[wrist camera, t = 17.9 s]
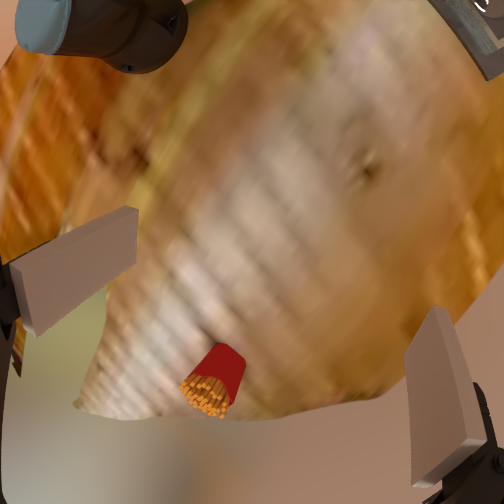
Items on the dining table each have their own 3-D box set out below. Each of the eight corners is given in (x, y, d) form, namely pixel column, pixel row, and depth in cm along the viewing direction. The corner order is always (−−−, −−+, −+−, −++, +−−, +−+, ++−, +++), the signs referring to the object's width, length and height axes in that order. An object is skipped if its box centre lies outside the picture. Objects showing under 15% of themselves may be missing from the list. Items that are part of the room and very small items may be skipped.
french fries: (253, 365, 57) (229, 416, 46) (239, 375, 59) (215, 424, 48) (216, 334, 57) (184, 382, 46) (203, 345, 59) (172, 391, 48)
